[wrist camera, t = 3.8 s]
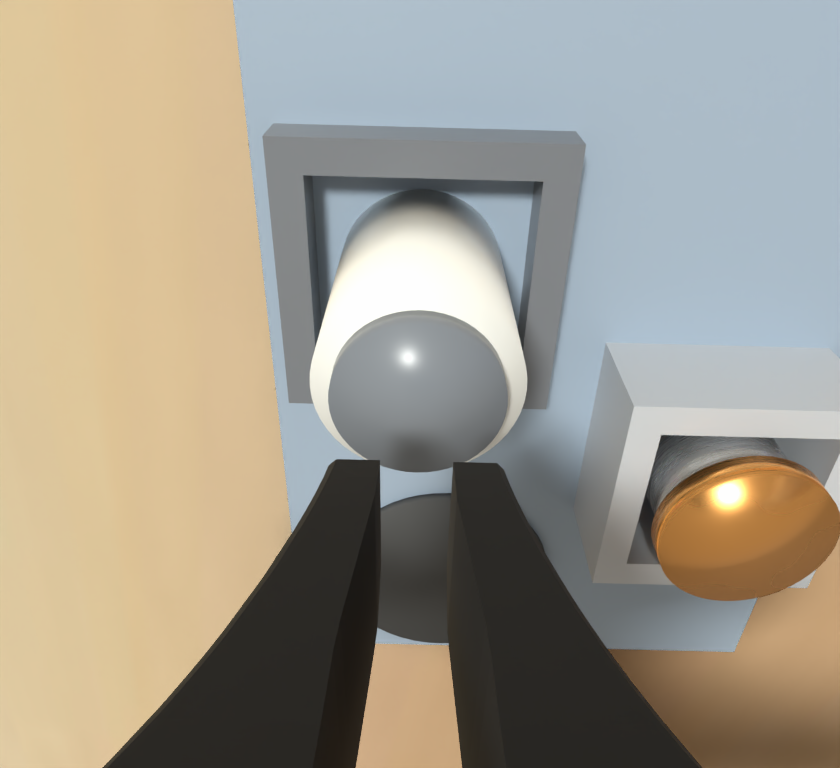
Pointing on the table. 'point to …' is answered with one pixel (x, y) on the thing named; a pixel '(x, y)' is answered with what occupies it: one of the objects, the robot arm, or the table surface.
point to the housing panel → (576, 242)
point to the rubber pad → (415, 567)
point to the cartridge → (419, 337)
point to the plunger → (737, 516)
